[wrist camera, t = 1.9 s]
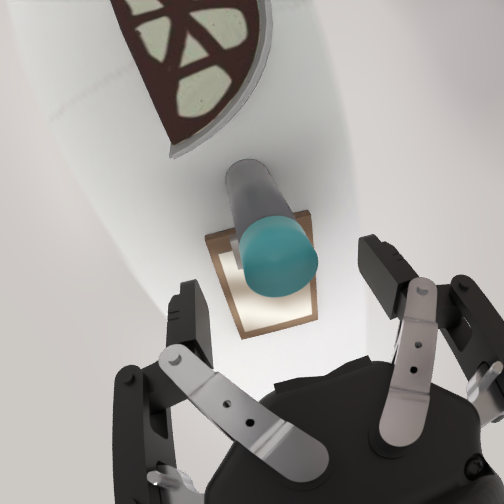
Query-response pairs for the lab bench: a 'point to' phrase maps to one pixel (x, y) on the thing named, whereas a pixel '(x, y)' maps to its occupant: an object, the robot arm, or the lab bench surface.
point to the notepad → (250, 303)
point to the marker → (268, 233)
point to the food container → (197, 60)
